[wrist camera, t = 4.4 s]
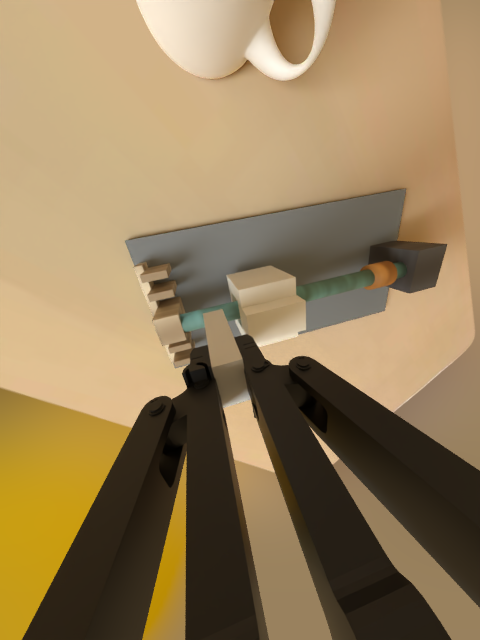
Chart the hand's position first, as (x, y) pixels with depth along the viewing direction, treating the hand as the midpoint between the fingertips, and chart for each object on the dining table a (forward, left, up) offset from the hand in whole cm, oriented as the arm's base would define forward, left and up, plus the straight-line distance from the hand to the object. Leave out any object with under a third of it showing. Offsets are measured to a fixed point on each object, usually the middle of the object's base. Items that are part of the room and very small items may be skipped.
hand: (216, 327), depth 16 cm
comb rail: (0, +8, -7) cm, 11 cm away
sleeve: (0, +4, -5) cm, 6 cm away
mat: (0, +8, -7) cm, 11 cm away
